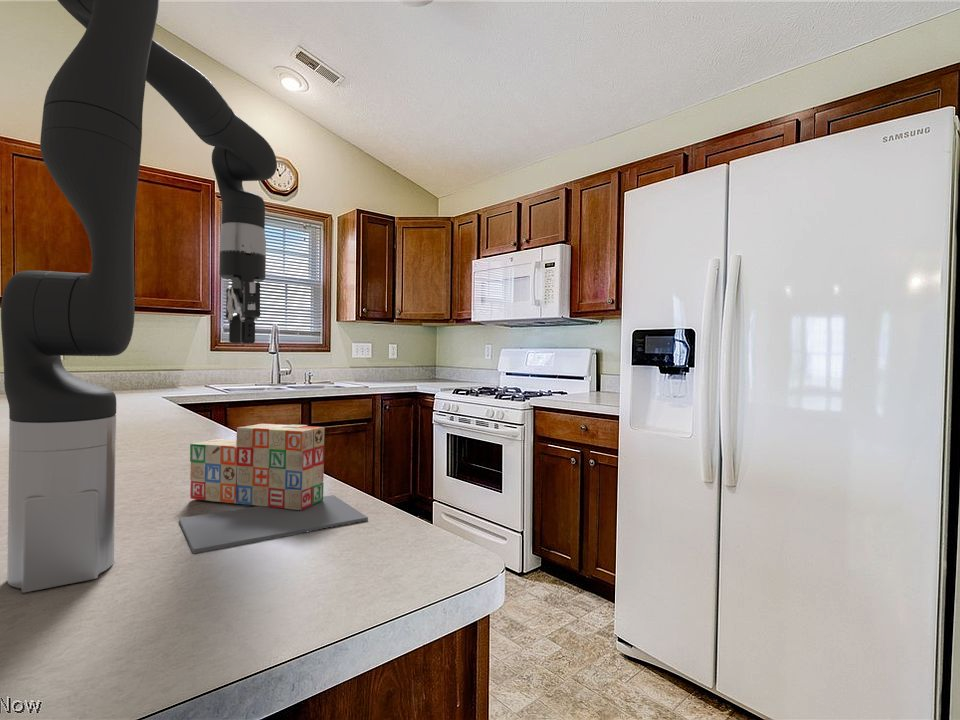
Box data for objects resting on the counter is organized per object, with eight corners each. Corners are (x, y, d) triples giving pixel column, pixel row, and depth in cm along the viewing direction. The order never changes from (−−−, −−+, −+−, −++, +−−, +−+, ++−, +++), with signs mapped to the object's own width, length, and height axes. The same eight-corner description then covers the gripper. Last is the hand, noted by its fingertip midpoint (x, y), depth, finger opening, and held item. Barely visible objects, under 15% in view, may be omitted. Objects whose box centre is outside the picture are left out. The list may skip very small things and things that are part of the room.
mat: (367, 520, 77) (367, 517, 77) (193, 553, 63) (193, 549, 63) (333, 497, 88) (333, 495, 88) (179, 521, 74) (179, 518, 74)
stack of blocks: (188, 500, 84) (189, 425, 84) (217, 491, 90) (218, 421, 90) (301, 510, 78) (302, 429, 79) (324, 500, 85) (325, 425, 85)
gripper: (211, 255, 95) (210, 342, 95) (229, 243, 84) (227, 342, 84) (254, 260, 100) (253, 343, 100) (276, 250, 88) (275, 344, 89)
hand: (241, 343), depth 92 cm, fingers open, 8 cm apart
